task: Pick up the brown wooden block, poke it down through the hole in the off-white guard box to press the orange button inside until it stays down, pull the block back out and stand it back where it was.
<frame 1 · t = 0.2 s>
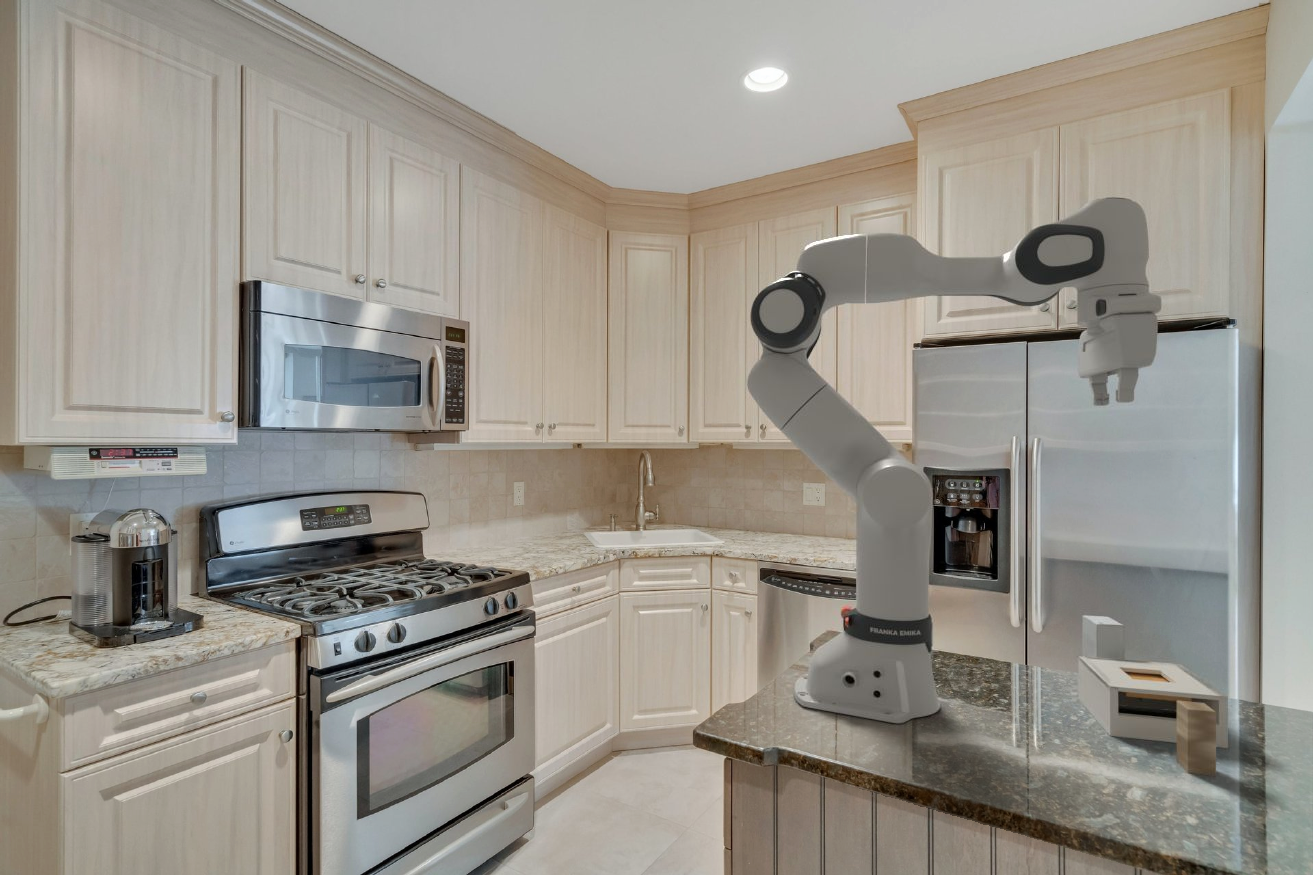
hand: (1112, 404, 101), 47 cm above the worktop, tool pointing down, fingers open, 8 cm apart
button: (1146, 690, 101), point 5 cm above the worktop, slide at 0.0 cm
brown wooden block: (1195, 768, 87), on the worktop
guard box: (1146, 721, 101), on the worktop
skincare box: (1102, 693, 113), on the worktop
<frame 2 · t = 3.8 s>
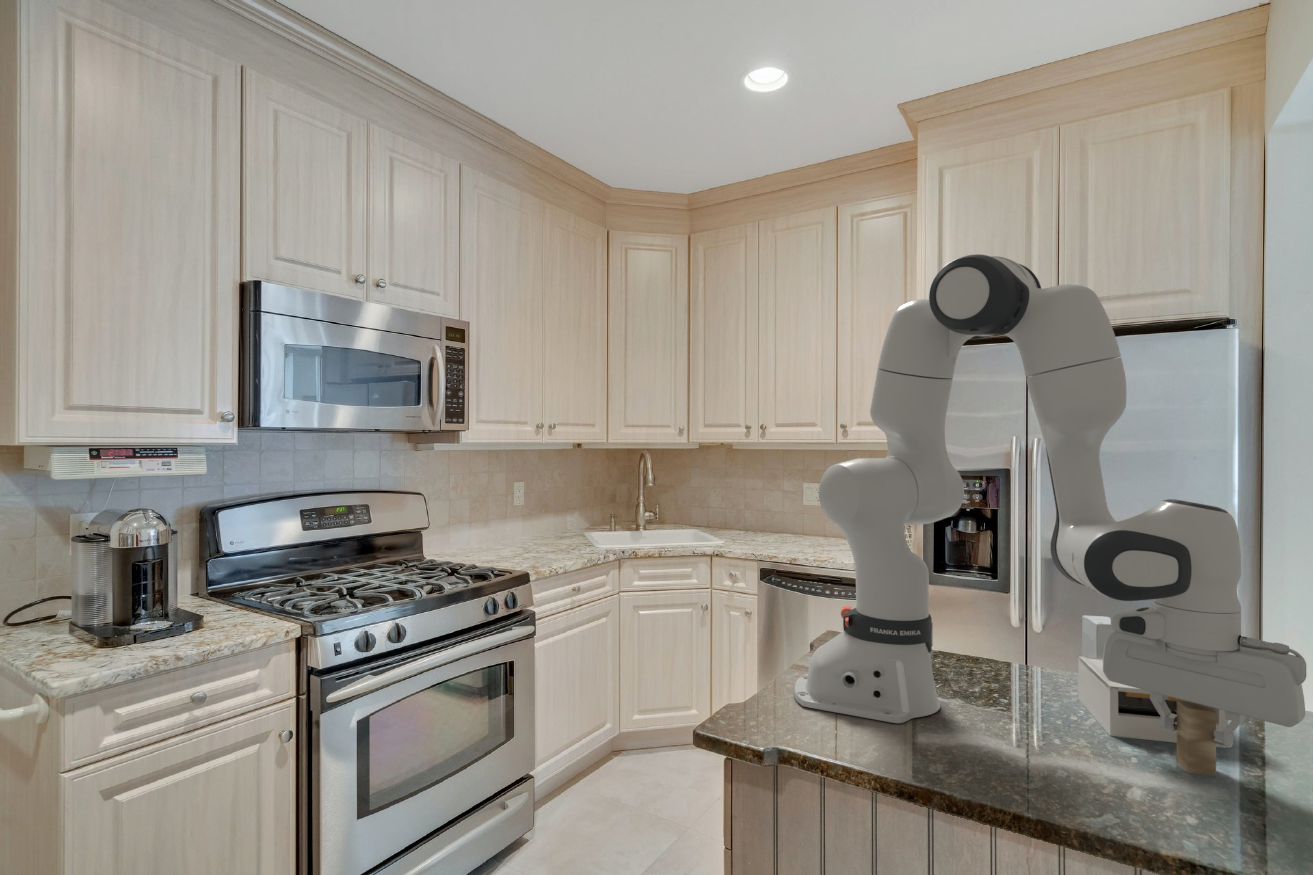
hand: (1195, 736, 87), 4 cm above the worktop, tool pointing down, fingers closed on brown wooden block, 4 cm apart
brown wooden block: (1195, 768, 87), on the worktop, touching gripper
everything else where it was.
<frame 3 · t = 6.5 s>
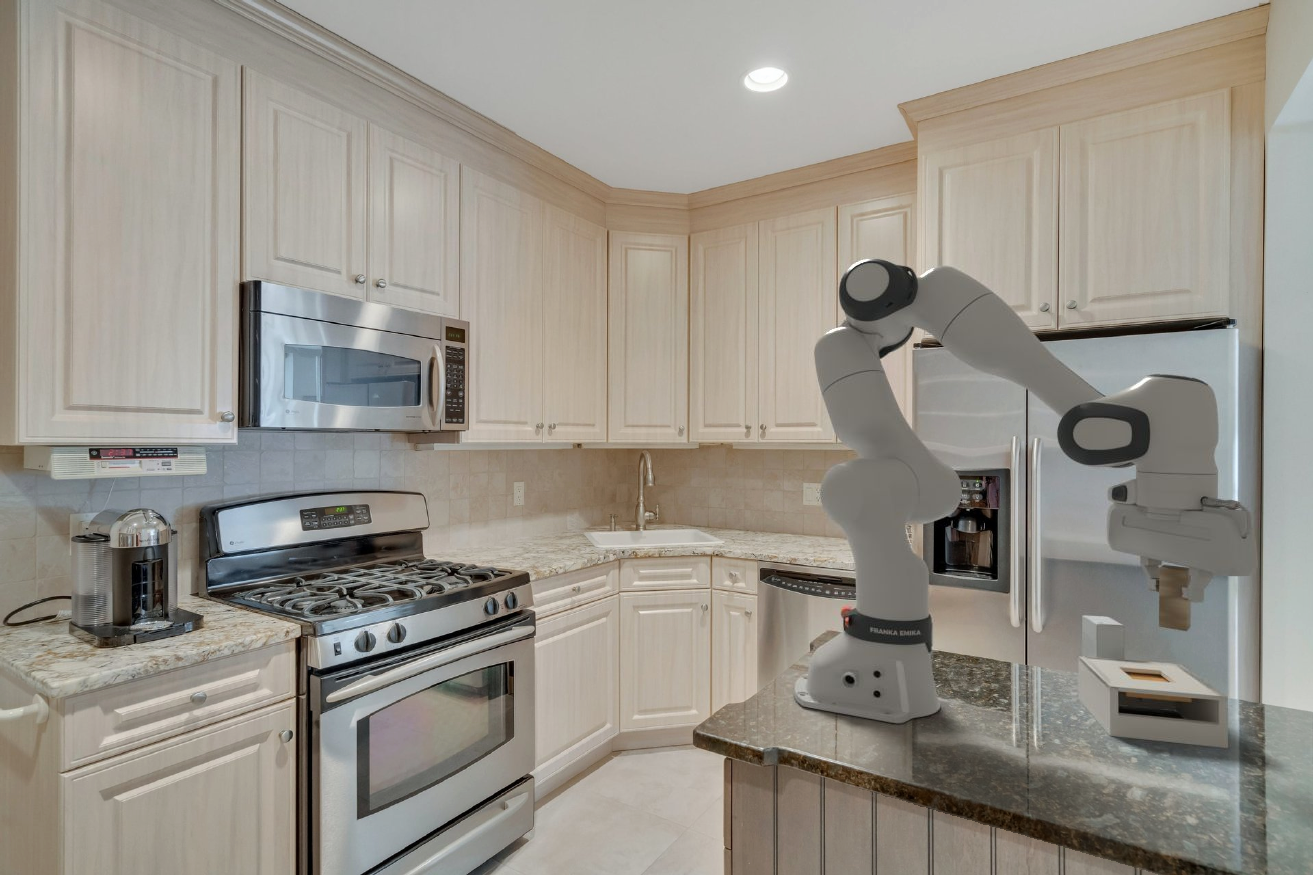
hand: (1174, 596, 92), 21 cm above the worktop, tool pointing down, fingers closed on brown wooden block, 4 cm apart
brown wooden block: (1174, 626, 92), point 17 cm above the worktop, touching gripper
everything else where it was.
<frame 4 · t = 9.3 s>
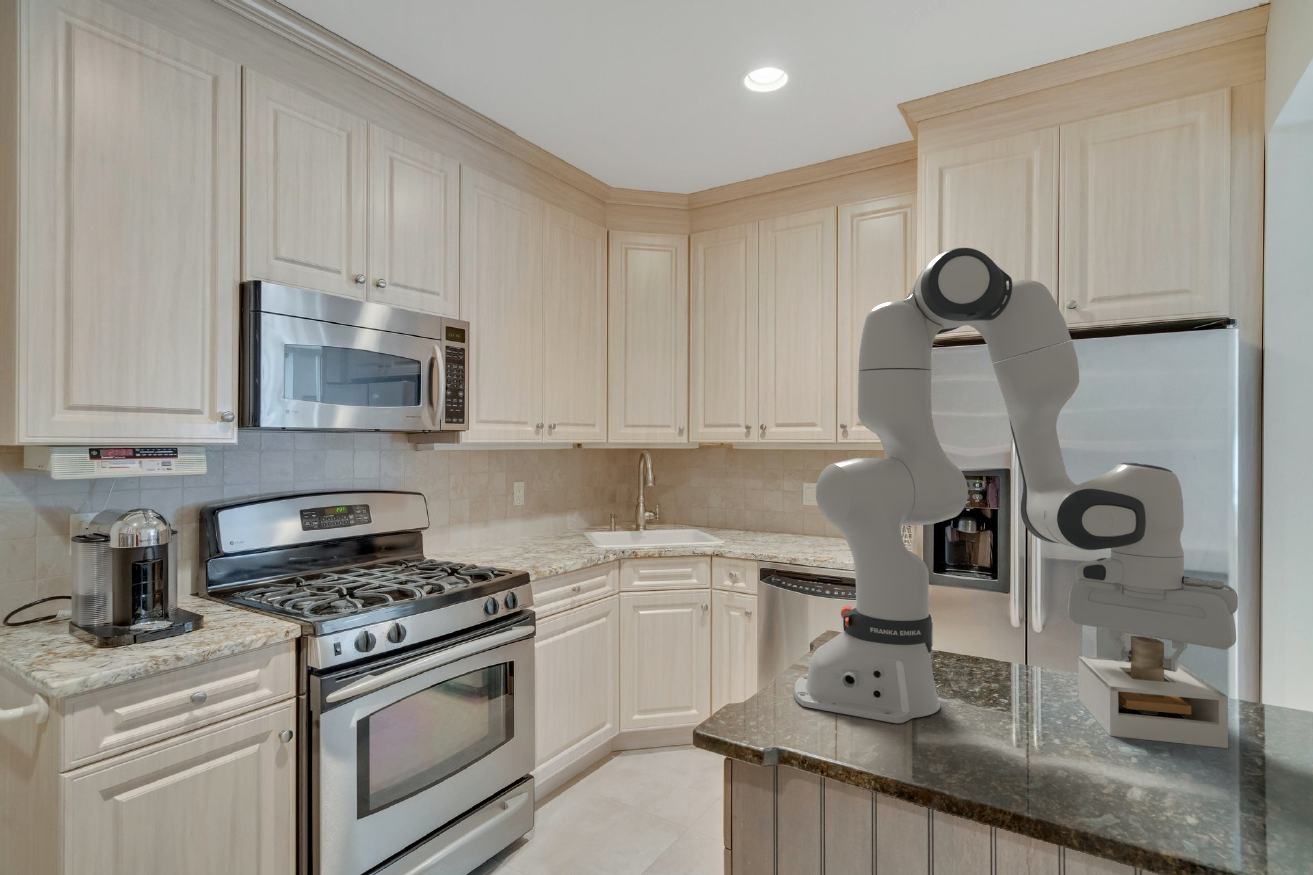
hand: (1147, 665, 101), 8 cm above the worktop, tool pointing down, fingers closed on brown wooden block, 4 cm apart
button: (1146, 702, 101), point 3 cm above the worktop, slide at 1.7 cm, touching brown wooden block
brown wooden block: (1147, 693, 101), point 4 cm above the worktop, touching button, gripper
everything else where it was.
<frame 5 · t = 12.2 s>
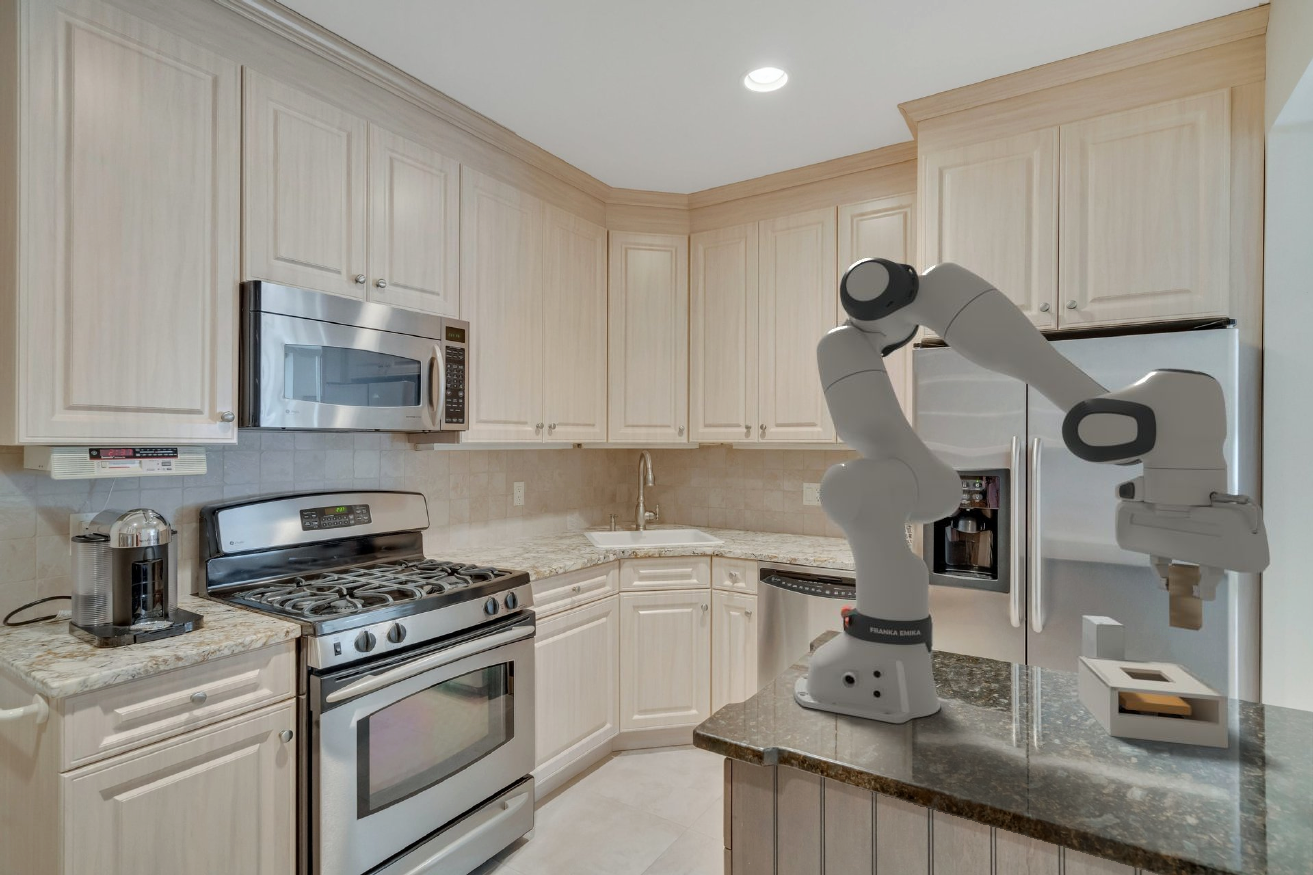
hand: (1185, 594, 90), 21 cm above the worktop, tool pointing down, fingers closed on brown wooden block, 4 cm apart
button: (1146, 703, 101), point 3 cm above the worktop, slide at 1.8 cm
brown wooden block: (1185, 626, 90), point 17 cm above the worktop, touching gripper
everything else where it was.
when the fingers open (6 cm above the worktop, at t = 14.7 s): brown wooden block drops 1 cm, on the worktop.
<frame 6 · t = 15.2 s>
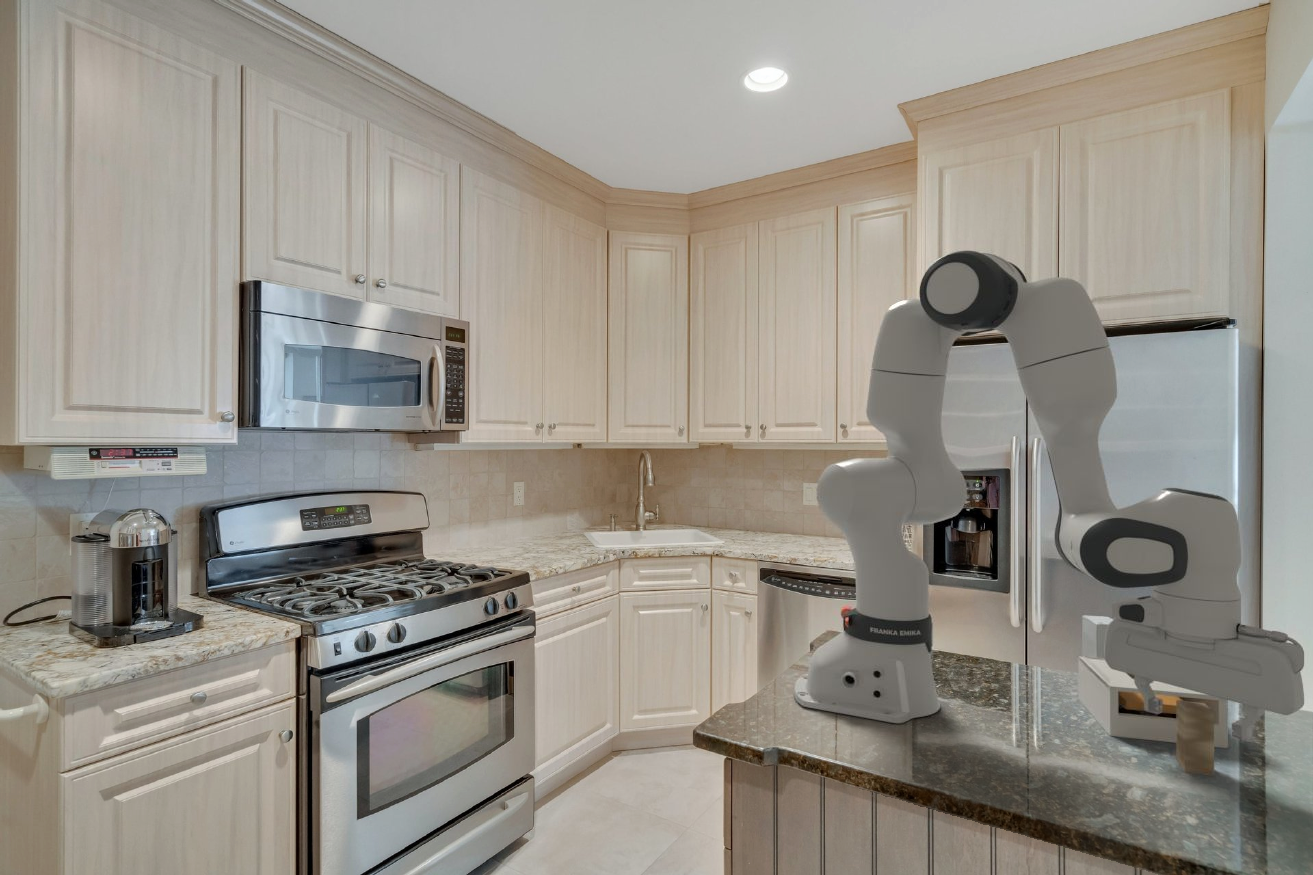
hand: (1195, 724, 87), 6 cm above the worktop, tool pointing down, fingers open, 8 cm apart
brown wooden block: (1194, 768, 87), on the worktop
everything else where it was.
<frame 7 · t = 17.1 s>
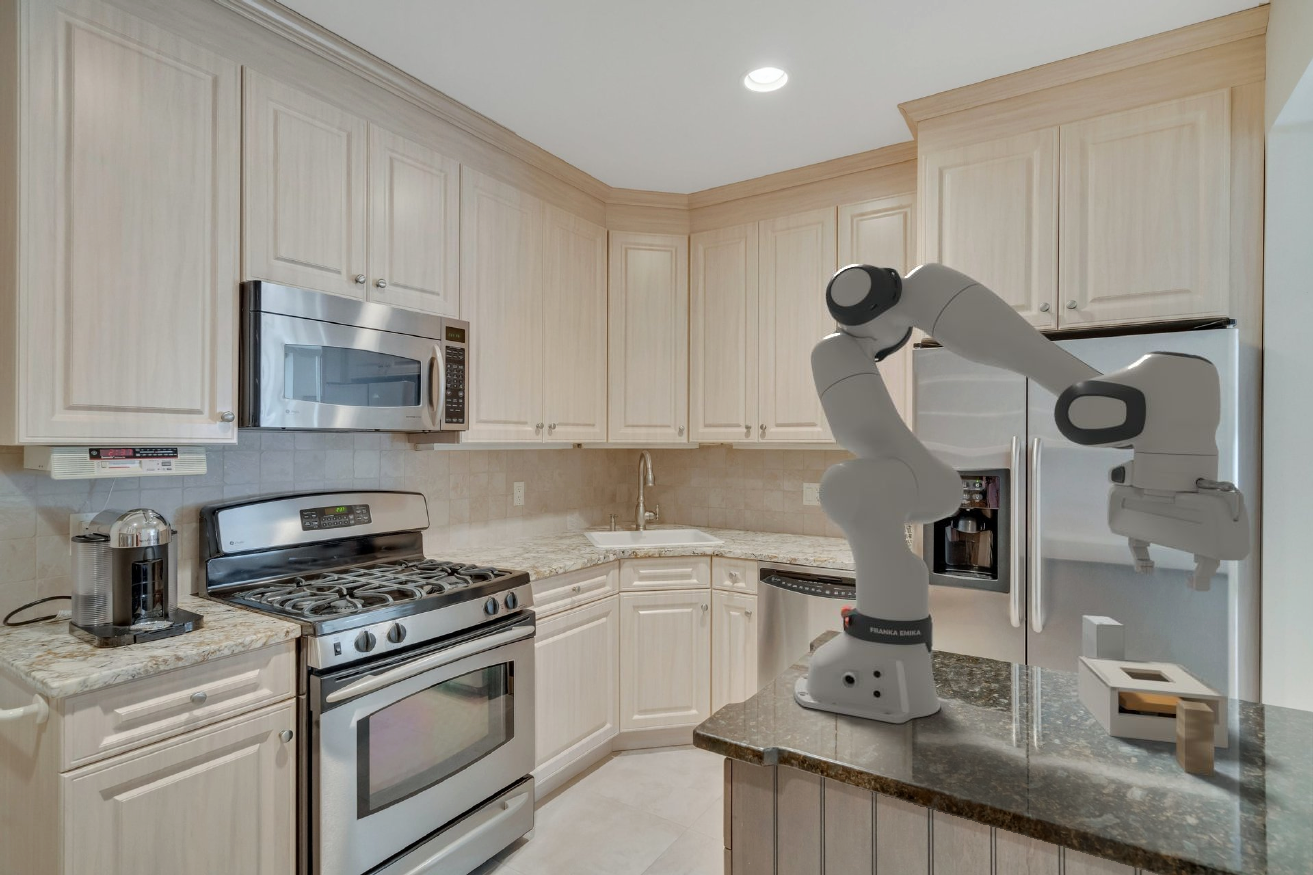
hand: (1169, 580, 89), 23 cm above the worktop, tool pointing down, fingers open, 8 cm apart
nothing on the worktop moved.
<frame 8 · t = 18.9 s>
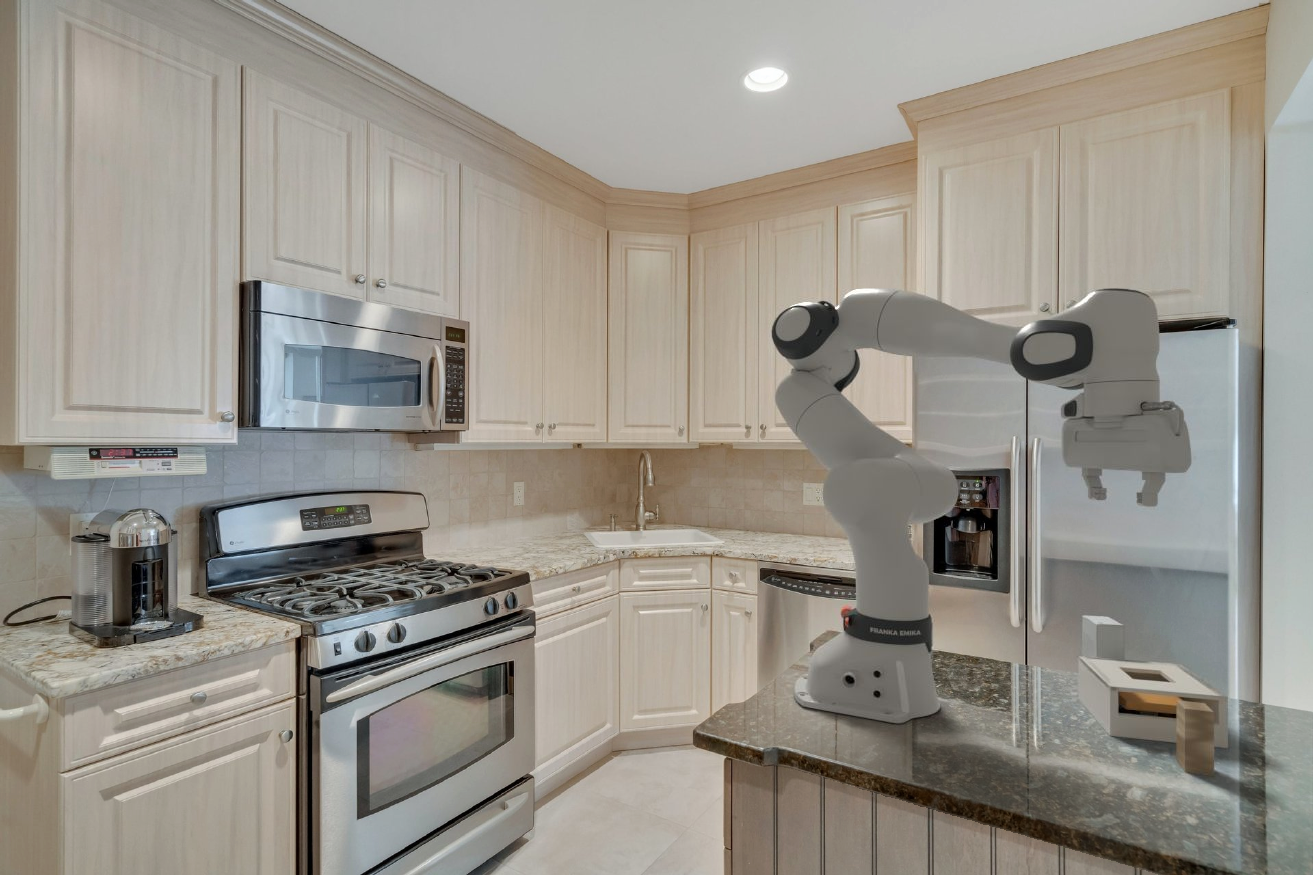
hand: (1120, 502, 95), 33 cm above the worktop, tool pointing down, fingers open, 8 cm apart
nothing on the worktop moved.
at the end: button slide at 1.8 cm; brown wooden block inside the target area (0.1 cm from its centre), on the worktop; brown wooden block tilted 0° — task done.
